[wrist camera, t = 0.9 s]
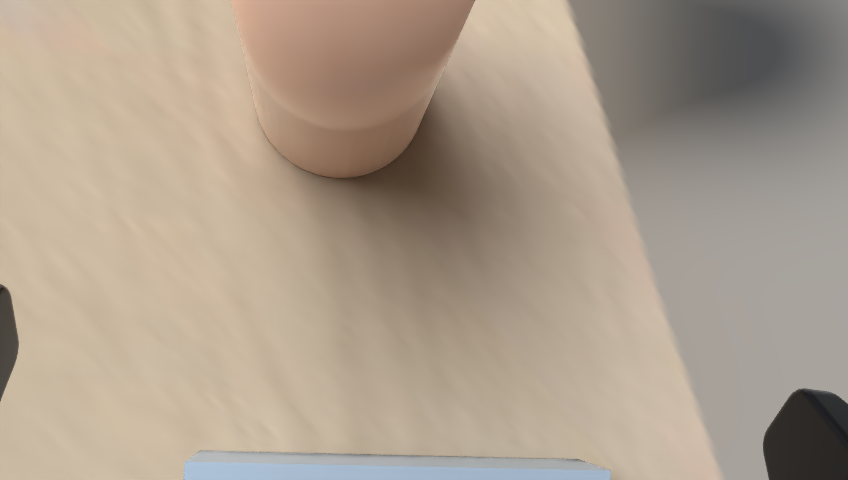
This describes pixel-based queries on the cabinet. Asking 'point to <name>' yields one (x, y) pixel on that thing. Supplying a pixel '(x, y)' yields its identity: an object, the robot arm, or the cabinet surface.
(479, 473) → the tray
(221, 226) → the cabinet surface
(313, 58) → the peach rounded peg
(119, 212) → the cabinet surface
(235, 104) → the cabinet surface
